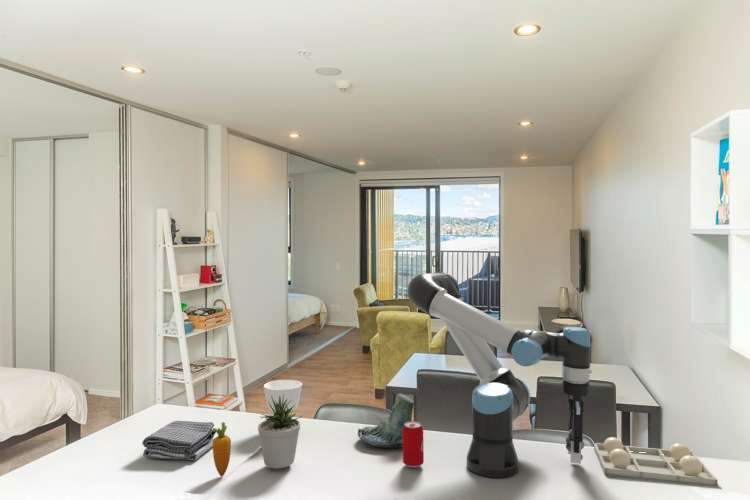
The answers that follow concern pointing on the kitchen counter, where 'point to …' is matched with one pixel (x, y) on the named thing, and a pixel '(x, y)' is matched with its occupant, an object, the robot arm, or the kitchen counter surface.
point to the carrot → (221, 450)
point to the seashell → (570, 442)
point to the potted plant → (279, 436)
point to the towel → (180, 440)
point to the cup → (283, 386)
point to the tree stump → (390, 425)
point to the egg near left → (619, 458)
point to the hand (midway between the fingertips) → (574, 458)
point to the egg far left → (612, 444)
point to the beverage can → (413, 444)
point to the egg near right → (690, 465)
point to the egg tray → (652, 466)
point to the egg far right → (678, 451)
